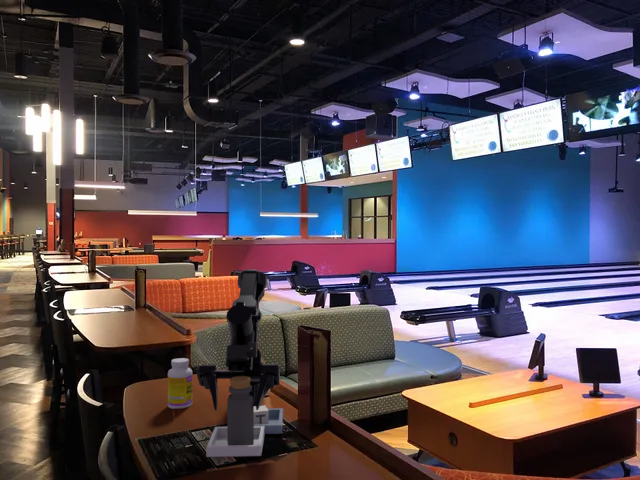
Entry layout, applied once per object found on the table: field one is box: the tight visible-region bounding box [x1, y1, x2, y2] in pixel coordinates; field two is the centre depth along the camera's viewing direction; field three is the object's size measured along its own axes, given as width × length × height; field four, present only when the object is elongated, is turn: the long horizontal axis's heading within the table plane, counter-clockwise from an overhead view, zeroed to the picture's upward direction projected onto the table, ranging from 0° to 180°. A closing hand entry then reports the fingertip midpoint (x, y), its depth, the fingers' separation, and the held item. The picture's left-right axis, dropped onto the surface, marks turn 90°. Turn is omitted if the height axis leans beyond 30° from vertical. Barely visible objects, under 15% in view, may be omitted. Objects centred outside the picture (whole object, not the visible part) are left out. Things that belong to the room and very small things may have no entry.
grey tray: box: [205, 426, 266, 458], centre depth 117 cm, size 12×12×2 cm
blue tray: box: [254, 407, 284, 435], centre depth 130 cm, size 12×12×2 cm
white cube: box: [254, 404, 269, 424], centre depth 130 cm, size 4×4×4 cm
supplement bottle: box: [167, 357, 194, 410], centre depth 145 cm, size 7×7×13 cm
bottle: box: [226, 376, 254, 445], centre depth 117 cm, size 6×6×15 cm
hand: (236, 409), depth 116 cm, fingers open, 9 cm apart
